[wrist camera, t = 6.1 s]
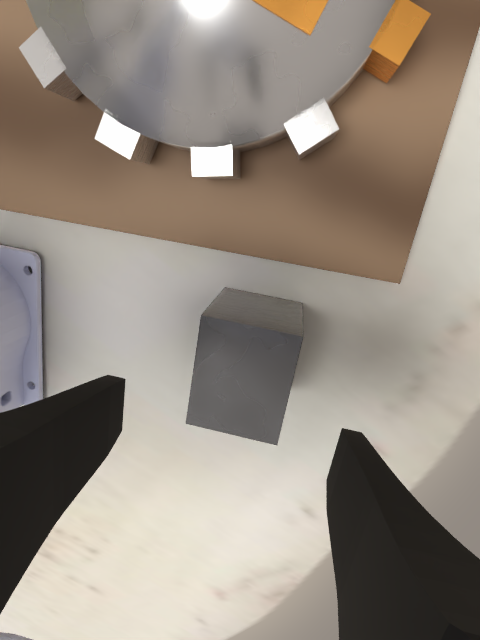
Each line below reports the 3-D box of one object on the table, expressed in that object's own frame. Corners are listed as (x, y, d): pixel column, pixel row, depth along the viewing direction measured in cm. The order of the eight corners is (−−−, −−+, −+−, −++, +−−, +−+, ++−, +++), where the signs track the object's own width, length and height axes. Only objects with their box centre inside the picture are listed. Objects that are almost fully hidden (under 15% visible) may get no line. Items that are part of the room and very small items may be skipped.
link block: (282, 388, 20) (276, 445, 16) (211, 373, 21) (186, 423, 16) (302, 302, 19) (303, 336, 14) (225, 286, 19) (201, 315, 14)
